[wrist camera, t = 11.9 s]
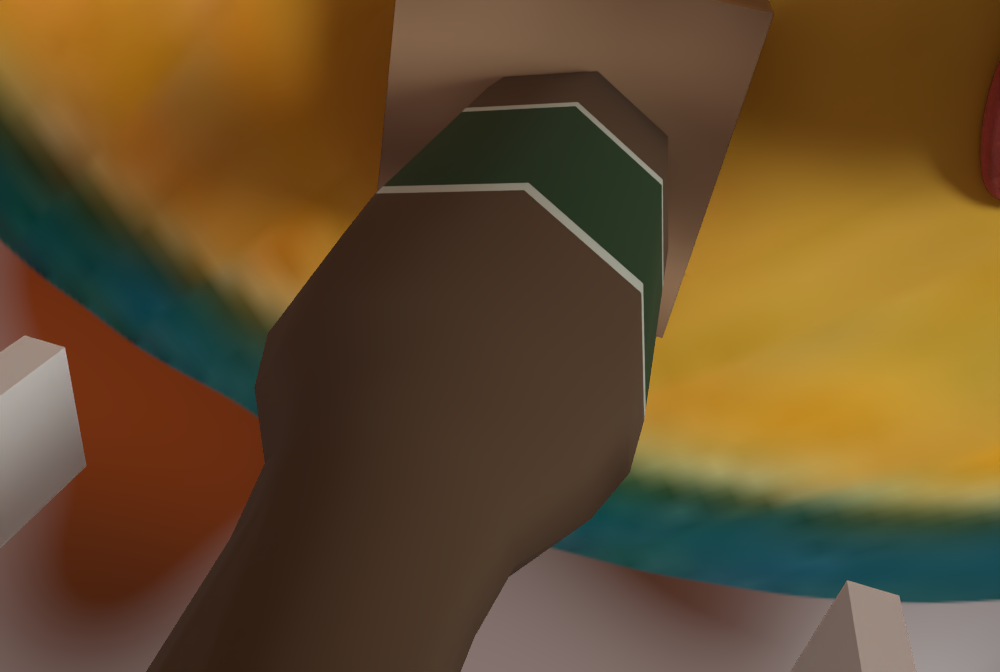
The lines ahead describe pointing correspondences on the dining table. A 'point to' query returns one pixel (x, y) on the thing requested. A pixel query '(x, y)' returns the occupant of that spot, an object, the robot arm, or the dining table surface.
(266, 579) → the beer bottle
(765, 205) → the dining table surface
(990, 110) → the stacking bear
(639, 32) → the walnut base brick
